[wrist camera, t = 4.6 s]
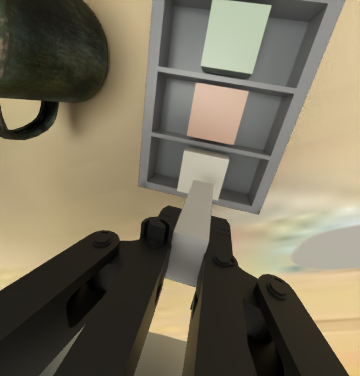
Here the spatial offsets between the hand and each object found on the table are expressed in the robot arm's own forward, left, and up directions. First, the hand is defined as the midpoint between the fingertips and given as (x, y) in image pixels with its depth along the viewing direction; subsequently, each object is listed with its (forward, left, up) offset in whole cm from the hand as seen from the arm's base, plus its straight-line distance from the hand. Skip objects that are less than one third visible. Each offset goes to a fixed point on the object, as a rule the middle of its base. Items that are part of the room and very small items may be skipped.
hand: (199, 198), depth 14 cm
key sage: (0, +12, -8) cm, 14 cm away
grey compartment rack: (0, +9, -10) cm, 13 cm away
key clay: (0, +6, -7) cm, 9 cm away
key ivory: (0, 0, -7) cm, 7 cm away
